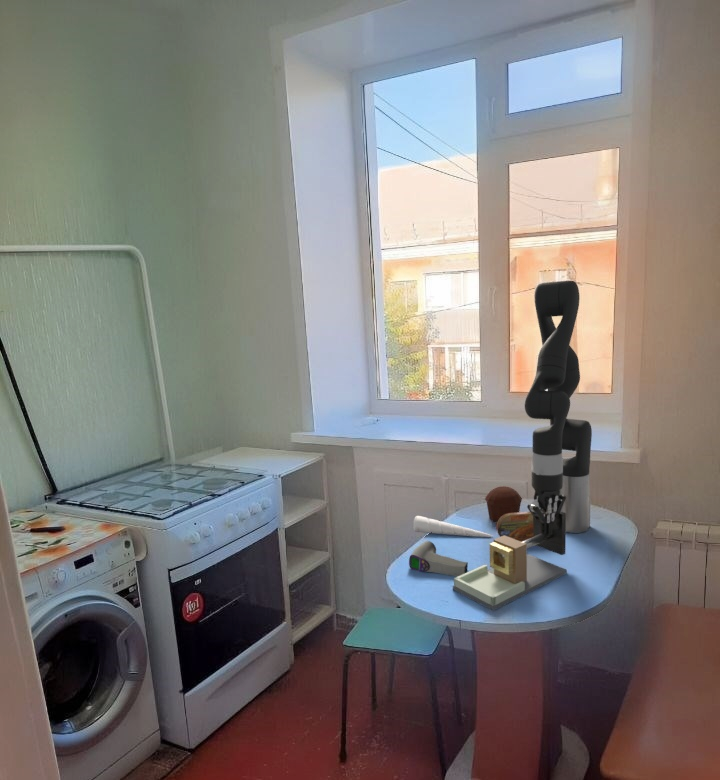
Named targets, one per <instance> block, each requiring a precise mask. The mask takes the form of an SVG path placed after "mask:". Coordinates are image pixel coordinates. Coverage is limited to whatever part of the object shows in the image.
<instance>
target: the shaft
mask: <svg viewBox="0 0 720 780" xmlns="http://www.w3.org/2000/svg"><path fill="white" fill-rule="evenodd" d="M566 533H567V532H566V513H564V512H561V511H560V514H559V516H558V517H555V518H554V521H553V531H552V535H550V536H548V537H547V536H544V535H542V533H541V521H538V520H535V518H534V517H533V537H532V538H530V539H527V540H525V541H523V543H526V544H527V549H529V548H533V547H534V546H537V547H540V548H542V549H545V550H547V551H550V552H552V553H555V554H558V555H559V556H563V555H565V554H566V547H567V546H566V545H567V544H566V541H567V540H566V537H567V535H566ZM499 555H500V557H501V558H502V559H505V555H504V554H501V553H499Z"/></svg>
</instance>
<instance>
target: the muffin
mask: <svg viewBox="0 0 720 780" xmlns="http://www.w3.org/2000/svg"><path fill="white" fill-rule="evenodd" d="M484 500H485V502H486V505H487V506H486V508H487V512H488V517H489V519H490V520H491V521H492V522H494V523H497V522H498V520H499V518H500V517H501V516H503V515H504V514H507V513H519V512H521V510H520V509H521V503H522V500H523V497H522V496H521V494H519V493H518V491H517V490H515V489H514V488H512V487H510V486H506V485H505V486H504V485H503V486H496V487H495V488H493V489H491V490H490V491H488V493H487V494H486V496H485V498H484Z"/></svg>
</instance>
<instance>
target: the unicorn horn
mask: <svg viewBox="0 0 720 780" xmlns="http://www.w3.org/2000/svg"><path fill="white" fill-rule="evenodd" d="M412 524H413V525H412V527H413V531H414V532H416V533H426V534H434V535H435V534H438V535H448V536H460V537H461V536H463V537H467V536H468V537H476V538H477V537H480V538H491V537H493V535H492V534H489V533H486V532H485V531H484V532H483V531H480V530H476V529H475V530H474V529H472V528H469V527H465V526H461V525H458V524H457V525H456V524H453V523H449V522H446V521H441V520H440V521H439V520H437V519H433V518H428V517H426V516H421V515H416V516H415V517H414V519H413V523H412ZM431 532H432V533H431Z"/></svg>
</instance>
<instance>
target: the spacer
mask: <svg viewBox="0 0 720 780" xmlns="http://www.w3.org/2000/svg"><path fill="white" fill-rule="evenodd" d="M499 553H501V554H504V555H505V564H504V563H501V562H499ZM489 567H490V568H494V569H496V570H498V571H501V572H503V573H505V574H507V575H510V574H513V573H514V549H512V548H509V547H507V546H504V545H502V544H499V543H497V542H494V541H493V542H491V543H489Z"/></svg>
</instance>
